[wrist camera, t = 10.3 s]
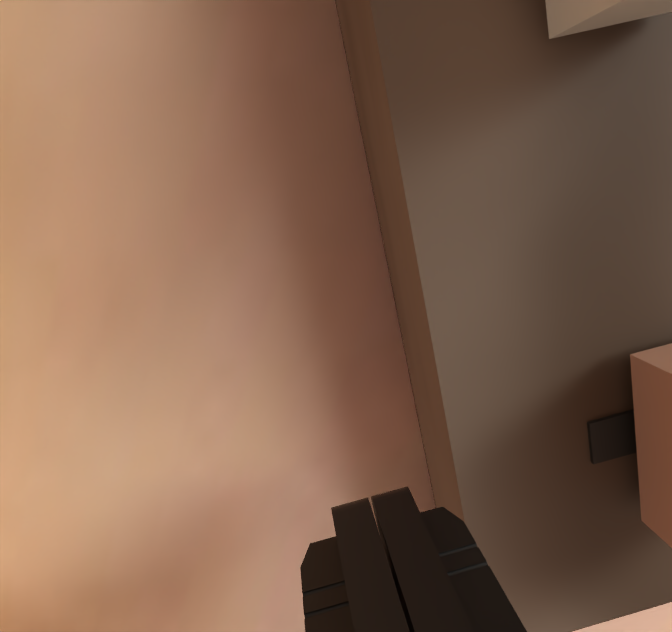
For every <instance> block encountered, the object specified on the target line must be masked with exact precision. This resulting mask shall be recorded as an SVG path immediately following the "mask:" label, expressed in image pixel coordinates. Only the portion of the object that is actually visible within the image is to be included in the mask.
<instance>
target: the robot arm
mask: <svg viewBox="0 0 672 632" xmlns="http://www.w3.org/2000/svg"><path fill="white" fill-rule="evenodd" d="M371 500H372V505H373V509H374V513H375V518H376V522H377V525H376V522H375V518H374V515H373V512H372V509H371V506H370V502H369V499H368V498H365V499H361V500H358V501H354V502H350V503H347V504H343V505H339V506H336V507H332V508H331V509H332V515H333V520H334V526H335V531H336V537H332V538H328V539H325V540H321V541H318V542H314V543H310V545H309V548H308V550H307V553H306V555H305V558H304V560H303V563H302V565H301V580H302V593H303V606H304V615H305V632H527V631H526V629H525V627H524V625H523V624H522V622H521V620H520V618H519V617H518V615H517V613H516V611H515V610H514V608H513V606H512V605H511V603H510V601H509V599H508V598H507V596H506V594H505V592H504V591H503V589H502V587H501V585H500V584H499V582H498V580H497V578H496V577H495V575H494V573H493V571H492V570H491V568H490V566H488V564H487V561H486V559H485V557H484V556H483V554H482V552H481V550H480V549H479V547H477V544H476V542H475V540H474V538H473V537H472V535H471V533H470V531H469V530H468V528H467V526H466V524H465V523H464V521H463V520H461V519H460V518H458V517H457V516H456V515H454V514H453V513H451V512H450V511H448V510H447V509H446V508H444V507H439V508H436V509H432V510H428V511H425V512H421V513H420V512H419V510H418V508H417V505H416V503H415V501H414V499H413V497H412V494H411V492H410V490H409V488H408V487H404V488H401V489H397V490H393V491H390V492H386V493H382V494H379V495H375V496H372V497H371ZM377 526H378V528H377ZM378 530H379V531H378ZM379 534H380V535H379Z"/></svg>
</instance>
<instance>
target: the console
mask: <svg viewBox="0 0 672 632" xmlns="http://www.w3.org/2000/svg"><path fill="white" fill-rule="evenodd" d="M335 1H336V6H337V12H338V17H339V22H340V27H341V32H342V37H343V42H344V47H345V52H346V57H347V62H348V67H349V72H350V77H351V82H352V87H353V92H354V97H355V102H356V107H357V112H358V117H359V122H360V127H361V132H362V138H363V143H364V148H365V153H366V158H367V163H368V168H369V173H370V178H371V183H372V188H373V193H374V198H375V203H376V208H377V213H378V218H379V223H380V228H381V233H382V238H383V243H384V248H385V253H386V258H387V263H388V269H389V274H390V279H391V284H392V289H393V294H394V299H395V304H396V309H397V314H398V319H399V324H400V329H401V334H402V339H403V344H404V349H405V354H406V359H407V364H408V369H409V374H410V379H411V384H412V389H413V394H414V400H415V405H416V410H417V415H418V420H419V425H420V430H421V435H422V440H423V445H424V450H425V455H426V460H427V465H428V470H429V475H430V480H431V485H432V490H433V495H434V500H435V505H436V508H439V507H444V508H446V509H447V510H448V511H450V512H451V513H453V514H454V515H456V516H457V517H458V518H460V519H461V520H463V521H464V523H465V524H466V526H467V528H468V530H469V531H470V533H471V535H472V537H473V538H474V540H475V542H476V544H477V547H479V549H480V550H481V552H482V554H483V556H484V557H485V559H486V561H487V564H488V566H490V568H491V570H492V571H493V573H494V575H495V577H496V578H497V580H498V582H499V584H500V585H501V587H502V589H503V591H504V592H505V594H506V596H507V598H508V599H509V601H510V603H511V605H512V606H513V608H514V610H515V611H516V613H517V615H518V617H519V618H520V620H521V622H522V624H523V625H524V627H525V629H526V631H527V632H572V631H575V630H579V629H582V628H585V627H589V626H592V625H595V624H599V623H602V622H605V621H609V620H612V619H616V618H619V617H622V616H626V615H629V614H632V613H636V612H639V611H642V610H646V609H649V608H652V607H656V606H659V605H663V604H666V603H669V602H672V548H671V547H670V546H669V545H668V544H667V543H666V542H664V541H663V540H662V539H661V538H660V537H659V536H658V535H657V534H656V533H655V532H653V531H652V530H651V529H650V528H649V527H648V526H647V525H646V524H645V523H644V522H642V521H641V507H640V493H639V478H638V464H637V449H636V435H635V420H634V406H633V391H632V377H631V362H630V354H633V353H637V352H641V351H644V350H648V349H652V348H656V347H659V346H663V345H667V344H671V343H672V12H669V13H664V14H660V15H655V16H651V17H646V18H642V19H637V20H633V21H628V22H624V23H619V24H615V25H610V26H606V27H601V28H597V29H592V30H588V31H583V32H579V33H574V34H570V35H566V36H561V37H557V38H552V39H549V33H548V23H547V13H546V3H545V0H335Z"/></svg>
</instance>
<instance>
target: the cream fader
mask: <svg viewBox="0 0 672 632" xmlns="http://www.w3.org/2000/svg"><path fill="white" fill-rule="evenodd" d="M545 3H546V13H547V23H548V33H549V39H552V38H557V37H561V36H566V35H570V34H574V33H579V32H583V31H588V30H592V29H597V28H601V27H606V26H610V25H615V24H619V23H624V22H628V21H633V20H637V19H642V18H646V17H651V16H655V15H660V14H664V13H669V12H672V0H545Z"/></svg>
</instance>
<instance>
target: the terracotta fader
mask: <svg viewBox="0 0 672 632" xmlns="http://www.w3.org/2000/svg"><path fill="white" fill-rule="evenodd" d="M630 362H631V377H632V391H633V406H634V420H635V435H636V449H637V464H638V478H639V493H640V507H641V521H642V522H644V523H645V524H646V525H647V526H648V527H649V528H650V529H651V530H652V531H653V532H655V533H656V534H657V535H658V536H659V537H660V538H661V539H662V540H663V541H664V542H666V543H667V544H668V545H669V546H670V547H671V548H672V343H671V344H667V345H663V346H659V347H656V348H652V349H648V350H644V351H641V352H637V353H633V354H630Z"/></svg>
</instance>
